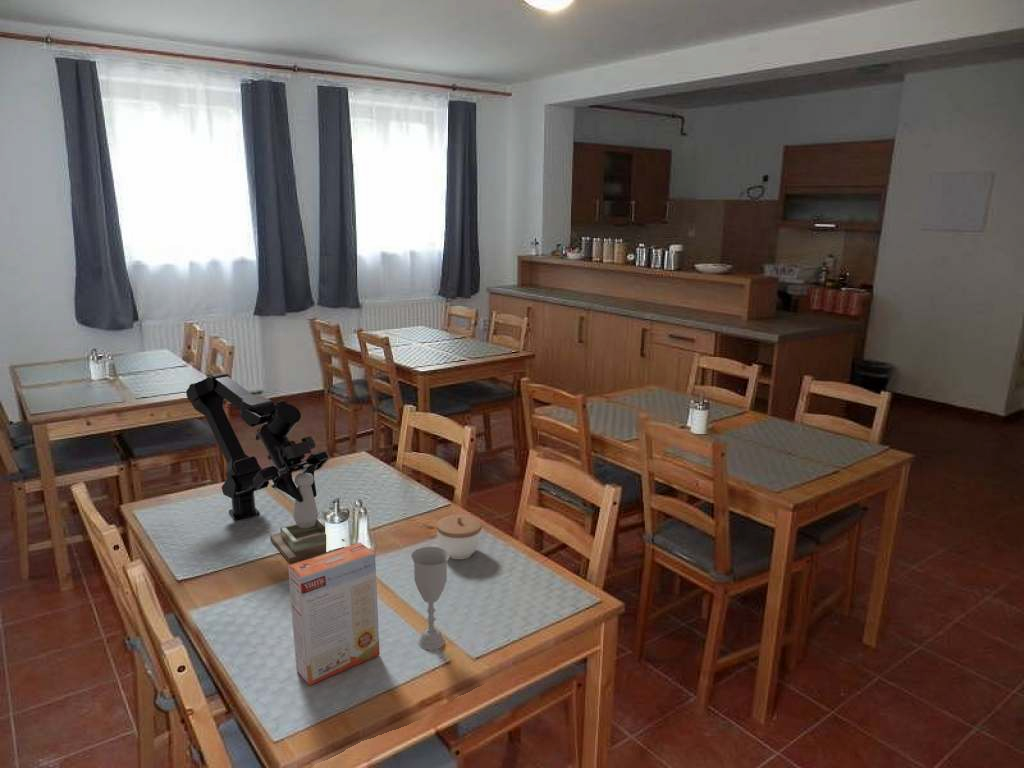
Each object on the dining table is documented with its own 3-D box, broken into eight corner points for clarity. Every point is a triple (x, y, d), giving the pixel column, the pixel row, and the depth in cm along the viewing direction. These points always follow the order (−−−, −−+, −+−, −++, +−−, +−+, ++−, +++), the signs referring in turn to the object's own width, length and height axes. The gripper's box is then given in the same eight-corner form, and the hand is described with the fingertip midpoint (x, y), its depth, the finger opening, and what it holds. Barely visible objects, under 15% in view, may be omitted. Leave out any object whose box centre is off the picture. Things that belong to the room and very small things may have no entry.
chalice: (405, 640, 132) (403, 554, 128) (433, 626, 137) (432, 543, 133) (429, 658, 127) (427, 569, 123) (457, 642, 132) (457, 556, 128)
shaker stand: (270, 539, 171) (269, 526, 171) (325, 525, 179) (324, 512, 179) (289, 562, 160) (288, 548, 160) (346, 546, 169) (346, 532, 168)
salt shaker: (300, 532, 165) (298, 481, 162) (289, 524, 169) (286, 474, 166) (323, 525, 169) (321, 475, 166) (311, 517, 173) (309, 468, 170)
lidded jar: (453, 569, 159) (453, 531, 157) (428, 551, 167) (427, 515, 165) (490, 555, 166) (491, 519, 164) (464, 538, 174) (464, 504, 172)
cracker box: (365, 640, 132) (361, 540, 127) (380, 656, 128) (377, 552, 123) (294, 669, 123) (286, 563, 118) (308, 687, 119) (301, 577, 114)
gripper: (256, 437, 158) (288, 495, 154) (323, 419, 173) (354, 471, 169) (239, 461, 165) (269, 517, 161) (304, 442, 179) (334, 493, 175)
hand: (308, 499), depth 166 cm, fingers closed on salt shaker, 3 cm apart
